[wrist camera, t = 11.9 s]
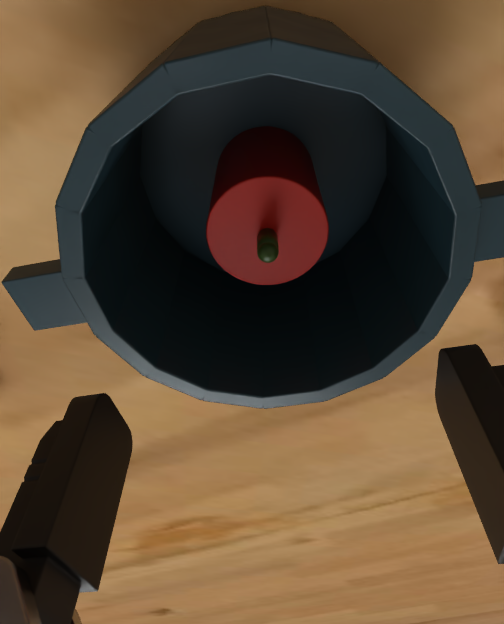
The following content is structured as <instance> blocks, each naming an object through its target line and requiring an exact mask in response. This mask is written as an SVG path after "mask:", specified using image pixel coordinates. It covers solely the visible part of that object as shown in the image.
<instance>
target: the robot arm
mask: <svg viewBox="0 0 504 624" xmlns="http://www.w3.org/2000/svg"><path fill="white" fill-rule="evenodd" d="M435 398H436V405H437V409H438V413H439V416H440V419H441V421H442V424H443V426H444V429H445V431H446V434H447V436H448V439H449V441H450V444H451V446H452V449H453V452H454V454H455V457H456V459H457V462H458V464H459V467H460V469H461V472H462V474H463V477H464V479H465V482H466V484H467V487H468V489H469V492H470V494H471V497H472V499H473V502H474V504H475V507H476V509H477V512H478V514H479V517H480V519H481V522H482V524H483V527H484V529H485V532H486V534H487V537H488V539H489V542H490V544H491V547H492V549H493V552H494V554H495V557H496V559H497V562H498V564H504V365H500V366H492V367H491V365H490V363H489V362H488V360H487V358H486V356H485V355H484V353H483V351H482V350H481V348H480V347H479V346H478V345H476V344H473V345H466V346H458V347H451V348H444V349H441V350H440V352H439V358H438V368H437V378H436V388H435ZM131 453H132V435H131V431H130V429H129V427H128V425H127V424H126V422H125V420H124V419H123V417H122V416H121V414H120V413H119V411H118V409H117V408H116V406H115V405H114V403H113V401H112V400H111V398H110V397H109V396H108V395H107V394H105V393H102V394H95V395H87V396H80V397H75V398H73V399H72V400H71V402H70V404H69V406H68V408H67V411H66V413H65V416H64V418H63V420H61V421H56V422H55V423H54V424H53V425H52V427H51V428H50V429H49V430H48V431H47V433H46V434H45V435H44V436H43V438H42V439H41V440H40V442H39V445H38V447H37V449H36V451H35V454H34V456H33V458H32V464H31V465H29V467H28V470H27V472H26V474H25V477H24V482H22V484H21V486H20V488H19V490H18V493H17V495H16V497H15V500H14V502H13V504H12V506H11V509H10V511H9V513H8V516H7V518H6V520H5V523H4V525H3V527H2V529H1V532H0V624H82V623H81V620H80V617H79V614H78V612H77V610H76V609H75V606H76V602H77V598H78V595H79V592H93V591H98V589H99V585H100V580H101V576H102V572H103V568H104V564H105V560H106V556H107V552H108V548H109V543H110V539H111V535H112V531H113V527H114V523H115V519H116V515H117V511H118V506H119V502H120V498H121V494H122V490H123V486H124V482H125V478H126V474H127V469H128V465H129V461H130V457H131Z"/></svg>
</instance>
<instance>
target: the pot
mask: <svg viewBox="0 0 504 624" xmlns="http://www.w3.org/2000/svg"><path fill="white" fill-rule="evenodd" d="M262 126H269V127H276V128H280V129H283V130H285V131H288V132H289V133H291V134H293V135H294V136H296V137H297V138H298V139H299V140H300V141H301V142H302V143H303V144H304V146H305V147H306V149H307V150H308V152H309V154H310V157H311V160H312V163H313V167H314V170H315V174H316V177H317V181H318V185H319V188H320V192H321V196H322V199H323V203H324V207H325V210H326V214H327V218H328V223H329V234H328V240H327V244H326V247H325V249H324V252H323V253H322V255H321V257H320V258H319V260H318V261H317V262H316V263H315V265H314V266H313V267H312V268H311V269H309V270H308V271H307V272H306V273H304V274H303V275H301V276H299V277H298V278H296V279H293V280H291V281H288V282H285V283H281V284H275V285H258V284H252V283H248V282H245V281H242V280H240V279H237V278H235V277H234V276H232V275H230V274H229V273H228V272H226V271H225V270H224V269H223V268H222V267H221V266H220V265H219V264H218V263H217V261H216V260H215V259H214V257H213V255H212V253H211V252H210V249H209V246H208V243H207V238H206V224H207V218H208V213H209V208H210V202H211V197H212V192H213V186H214V181H215V176H216V170H217V165H218V161H219V158H220V156H221V154H222V152H223V150H224V148H225V147H226V146H227V144H228V143H229V142H230V141H231V140H232V139H233V138H235V137H236V136H237V135H239V134H240V133H242V132H244V131H246V130H248V129H252V128H255V127H262ZM55 210H56V221H57V232H58V243H59V253H60V259H58V260H52V261H47V262H41V263H36V264H30V265H24V266H19V267H13V268H12V269H11V271H10V272H9V273H8V274H7V276H6V277H5V278H4V279H3V281H2V284H3V285H4V287H5V288H6V290H7V291H8V293H9V294H10V296H11V297H12V299H13V300H14V302H15V303H16V305H17V306H18V307H19V309H20V310H21V312H22V313H23V315H24V316H25V318H26V319H27V321H28V322H29V324H30V325H31V326H32V328H33V329H34V330H41V329H48V328H54V327H61V326H67V325H73V324H80V323H86V322H87V323H88V325H89V326H90V328H91V330H92V331H93V333H94V335H96V337H97V338H98V339H100V340H101V341H102V342H103V343H104V344H106V345H107V346H108V347H109V348H110V349H112V350H113V351H114V352H115V353H116V354H118V355H119V356H120V357H121V358H122V359H124V360H125V361H126V362H127V363H128V364H130V365H131V366H132V367H133V368H134V369H136V370H137V371H138V372H139V373H140V374H142V375H143V376H145V377H147V378H149V379H151V380H154V381H156V382H159V383H161V384H163V385H166V386H168V387H170V388H173V389H175V390H178V391H180V392H182V393H185V394H187V395H190V396H192V397H194V398H197V399H199V400H203V401H208V402H216V403H223V404H231V405H238V406H246V407H254V408H264V409H267V408H275V407H283V406H292V405H300V404H308V403H316V402H324V401H327V400H330V399H332V398H335V397H337V396H340V395H342V394H345V393H347V392H350V391H352V390H355V389H357V388H360V387H362V386H365V385H367V384H370V383H372V382H375V381H377V380H380V379H382V378H383V377H386V376H387V375H388V374H390V373H391V372H392V371H393V370H395V369H396V368H397V367H398V366H400V365H401V364H402V363H403V362H405V361H406V360H407V359H409V358H410V357H411V356H412V355H414V354H415V353H416V352H417V351H419V350H420V349H421V348H422V347H424V346H425V345H426V344H427V343H429V342H430V341H431V340H433V339H434V338H435V336H437V334H438V332H439V331H440V329H441V327H442V326H443V324H444V323H445V321H446V319H447V318H448V316H449V315H450V313H451V311H452V310H453V308H454V307H455V305H456V303H457V302H458V300H459V299H460V297H461V295H462V294H463V292H464V291H465V289H466V287H467V286H468V284H469V283H470V281H471V278H472V274H473V267H474V262H476V261H483V260H489V259H495V258H502V257H504V181H498V182H492V183H487V184H481V185H476V186H475V183H474V180H473V178H472V175H471V172H470V169H469V167H468V164H467V161H466V159H465V156H464V153H463V150H462V148H461V145H460V142H459V139H458V137H457V134H456V131H455V128H454V127H453V125H452V124H451V123H450V122H449V121H447V120H446V119H445V118H444V117H443V116H442V115H440V114H439V113H438V112H437V111H436V110H435V109H433V108H432V107H431V106H430V105H429V104H428V103H426V102H425V101H424V100H423V99H422V98H421V97H420V96H418V95H417V94H416V93H415V92H414V91H413V90H411V89H410V88H409V87H408V86H407V85H406V84H404V83H403V82H402V81H401V80H400V79H399V78H397V77H396V76H395V75H394V74H393V73H392V72H391V71H389V70H388V69H387V68H386V67H385V66H384V65H382V64H381V63H380V62H379V61H378V60H376V59H375V58H374V57H373V56H372V55H371V54H369V53H368V52H367V51H366V50H365V49H363V48H362V47H361V46H360V45H359V44H357V43H356V42H355V41H354V40H353V39H352V38H350V37H349V36H348V35H347V34H346V33H344V32H343V31H342V30H341V29H340V28H339V27H337V26H336V25H335V24H334V23H333V22H330V21H328V20H324V19H320V18H316V17H312V16H308V15H305V14H302V13H299V12H294V11H287V10H283V9H279V8H274V7H270V6H266V7H265V6H261V7H257V8H253V9H248V10H243V11H237V12H232V13H229V14H226V15H223V16H220V17H216V18H211V19H207V20H203V21H201V22H199V23H197V24H196V25H195V26H193V27H192V28H191V29H190V30H189V31H188V32H186V33H185V34H184V35H183V36H182V37H180V38H179V39H178V40H177V41H175V42H174V43H173V44H172V45H171V46H170V47H169V48H167V49H166V50H165V51H164V52H163V53H161V54H160V55H159V56H158V57H157V58H156V59H154V60H153V61H152V62H151V63H150V64H149V65H148V66H147V67H146V68H145V69H144V70H143V71H142V72H141V73H140V74H139V75H138V76H137V77H136V78H135V79H134V80H133V81H132V82H131V83H130V84H129V85H128V86H127V87H126V88H125V89H124V90H123V91H122V92H121V93H120V94H118V95H117V96H116V97H115V98H114V99H113V100H112V101H111V102H110V103H109V104H108V105H107V106H106V107H105V108H104V109H103V110H102V111H101V112H100V113H99V114H98V115H97V116H96V117H95V118H94V119H93V120H92V121H91V122H90V123H89V125H88V126H87V127H86V129H85V131H84V134H83V136H82V139H81V141H80V144H79V146H78V148H77V151H76V153H75V156H74V158H73V161H72V163H71V166H70V168H69V171H68V173H67V175H66V178H65V180H64V183H63V185H62V188H61V190H60V193H59V195H58V197H57V200H56V205H55Z"/></svg>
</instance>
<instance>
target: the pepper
mask: <svg viewBox="0 0 504 624" xmlns="http://www.w3.org/2000/svg"><path fill="white" fill-rule="evenodd" d="M328 234H329V223H328V218H327V214H326V210H325V207H324V203H323V199H322V196H321V192H320V188H319V185H318V181H317V177H316V174H315V170H314V167H313V163H312V160H311V157H310V154H309V152H308V150H307V149H306V147H305V146H304V144H303V143H302V142H301V141H300V140H299V139H298V138H297V137H296V136H294V135H293V134H291V133H289V132H288V131H285V130H283V129H280V128H276V127H269V126H262V127H255V128H252V129H248V130H246V131H244V132H242V133H240V134H239V135H237V136H236V137H235V138H233V139H232V140H231V141H230V142H229V143H228V144H227V146H226V147H225V148H224V150H223V152H222V154H221V156H220V158H219V161H218V165H217V170H216V176H215V181H214V186H213V192H212V197H211V202H210V208H209V213H208V218H207V224H206V238H207V243H208V246H209V249H210V252H211V253H212V255H213V257H214V259H215V260H216V261H217V263H218V264H219V265H220V266H221V267H222V268H223V269H224V270H225V271H226V272H228V273H229V274H230V275H232V276H234V277H235V278H237V279H240V280H242V281H245V282H248V283H252V284H258V285H275V284H281V283H285V282H288V281H291V280H293V279H296V278H298V277H299V276H301V275H303V274H304V273H306V272H307V271H308V270H309V269H311V268H312V267H313V266H314V265H315V263H316V262H317V261H318V260H319V258H320V257H321V255H322V253H323V252H324V249H325V247H326V244H327V240H328Z"/></svg>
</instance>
